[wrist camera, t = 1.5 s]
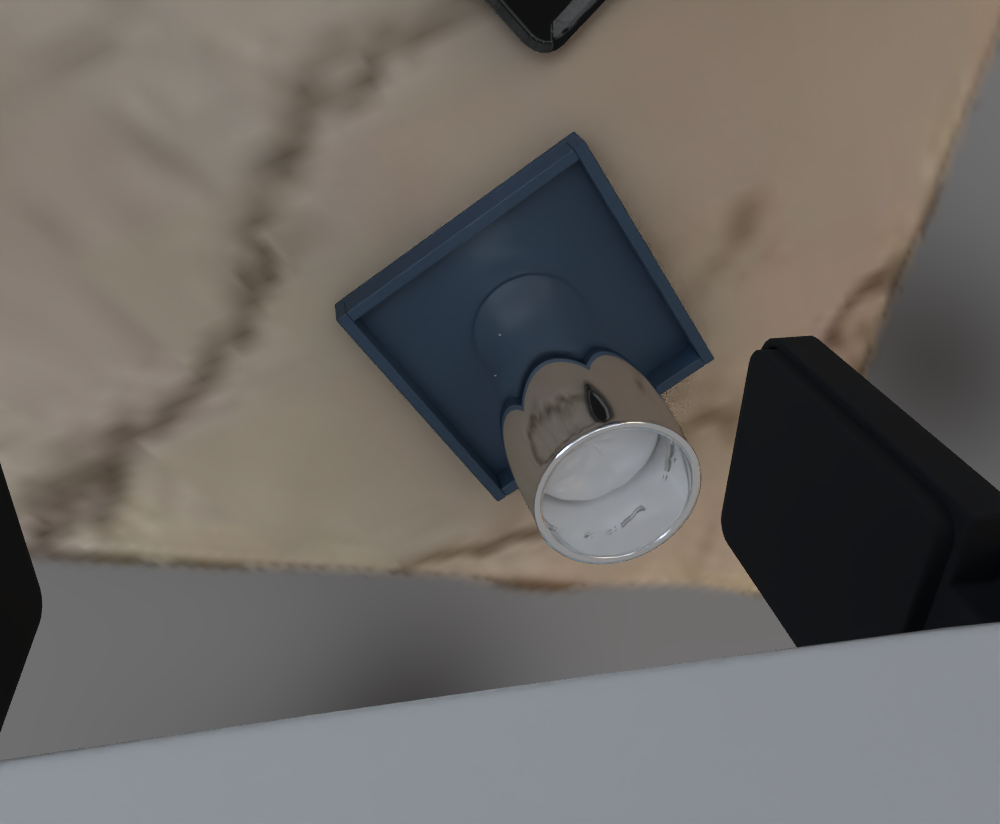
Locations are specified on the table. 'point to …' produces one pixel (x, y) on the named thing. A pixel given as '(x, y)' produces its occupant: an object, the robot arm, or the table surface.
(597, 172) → the tray
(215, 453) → the table surface
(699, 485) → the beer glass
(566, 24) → the phone
